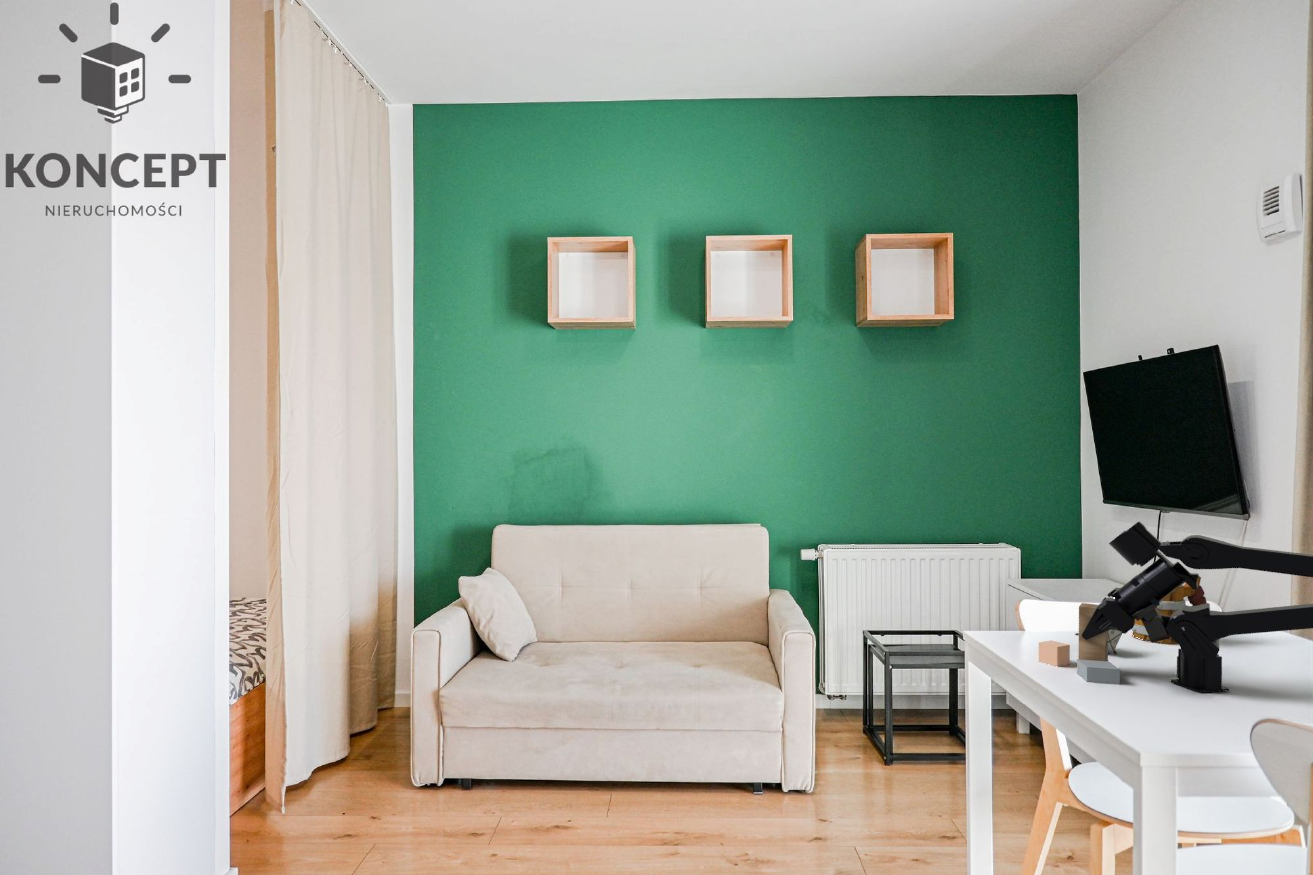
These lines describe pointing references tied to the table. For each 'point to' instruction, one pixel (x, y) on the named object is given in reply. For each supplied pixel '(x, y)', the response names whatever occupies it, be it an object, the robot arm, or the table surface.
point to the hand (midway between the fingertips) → (1085, 635)
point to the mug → (1173, 607)
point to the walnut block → (1096, 645)
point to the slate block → (1098, 671)
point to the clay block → (1054, 653)
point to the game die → (1112, 639)
